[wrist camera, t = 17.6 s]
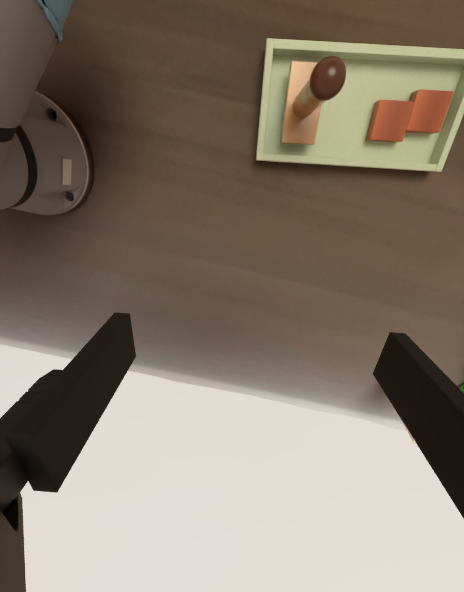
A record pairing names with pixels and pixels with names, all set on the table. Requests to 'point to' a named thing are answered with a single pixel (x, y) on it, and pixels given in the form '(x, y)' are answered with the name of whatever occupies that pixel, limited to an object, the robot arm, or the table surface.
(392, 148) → the tray
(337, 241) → the table surface
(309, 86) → the wooden handle stamp
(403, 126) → the chip
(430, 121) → the orange square block
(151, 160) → the table surface
